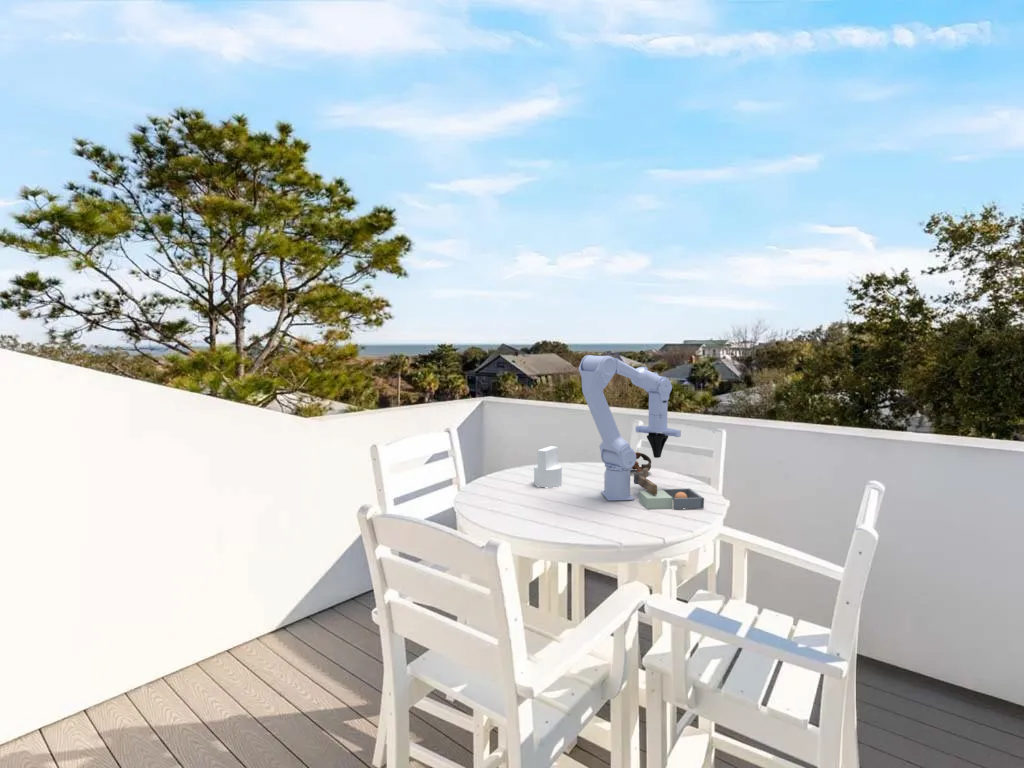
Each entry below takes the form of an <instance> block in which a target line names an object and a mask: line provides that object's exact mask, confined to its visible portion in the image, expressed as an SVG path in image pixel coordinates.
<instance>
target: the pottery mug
mask: <svg viewBox="0 0 1024 768" xmlns="http://www.w3.org/2000/svg"><path fill="white" fill-rule="evenodd" d="M635 453H636V462H635V464H634V466H633V467H632V469H631V470H635V469H637V470H635V472H634V473H639V472H640V471H641V470H643V469H644V468H648V472H650V471H651V469H652V459H651V458H650V457H649V456H648V455H647V454H645V453H642V452H635ZM640 458H642V460H643V461H646V462H648V463H647V464H646V463H645V464H644V463H642V464H641V466H640V465H639V463H640V462H638V461H637V460H639V459H640Z"/></svg>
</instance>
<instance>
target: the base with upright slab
mask: <svg viewBox="0 0 1024 768" xmlns="http://www.w3.org/2000/svg"><path fill="white" fill-rule="evenodd" d="M562 468H563V467H562V465H560V464H559V446H554V445H549V446H547V447H543V448H540V449H538V450H537V464H536V465H534V466H533V476H534V477H533V485H534V484H535V485H536V486H539V487H538V488H540V487H548V488H547V489H554V488H553V487H557V488H560V487H562V484H563V479H562V478H563V477H562V476H563V474H562V472H563V471H562V470H563V469H562ZM535 485H534V486H535ZM536 486H535V487H536ZM559 486H560V487H559Z"/></svg>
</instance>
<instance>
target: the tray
mask: <svg viewBox="0 0 1024 768" xmlns="http://www.w3.org/2000/svg"><path fill="white" fill-rule="evenodd" d="M661 490H664V491H665V492H666V493H667V494H669V495H670V496H671V497H672V498H673V508H674V509H676V510H684V509H683V508H704V509H705V498H704V496H703V497H702V495H700V494H698V493H697V492H696V491H694V490H692V489H691V487H690V488H662V489H661ZM678 492H684V493H685V494H686V495H687V497H688V498H675V495H676V494H677V493H678ZM673 508H672V509H673ZM674 509H673V510H674Z"/></svg>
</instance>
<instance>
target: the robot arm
mask: <svg viewBox="0 0 1024 768" xmlns="http://www.w3.org/2000/svg"><path fill="white" fill-rule="evenodd" d="M648 369H649V368H648V367H646V366H640V367H637V368H635V367H633V366H631V365H629V364H627V363H625V362H624V361H622V360H621V359H619V358H617V357H613V356H611V355H592V354H587V355H585V356H584V357H582V358H581V360H580V364H579V367H578V372H579V374H580V376H581V377H580V378H581V391H582V394H583V397H584V400H585V402H586V404H587V407H588V410H589V411H590V413H591V417H592V418H593V421H594V423H595V426H596V429H597V431H598V433H599V435H600V438H601V440H602V441H601V443H600V444H599V446H598V447H599V449H600V458H601V461H602V462H603V463H604V467H605V471H604V474H603V475H604V477H603V478H604V479H603V481H604V482H603V483H604V485H603V486H604V487H603V490H601V491H600V493H601V494H602V495H603V497H605V499H606V500H607V501H609V502H610V501H634V500H635V498H634V497H633V496H632V494H631V470H633V469H632V467H633V466H634V464H635V462H636V461H637V459H636V453H635V450H634V449H633V448H632V447H631V445H630V444H629V442H628V441H627V440H626V439H624V438H623V437H622V436H621V434H620V431H619V428H618V425H617V424H616V421H615V418H614V416H613V413H612V410H611V408H610V406H609V403H608V401H607V398H606V396H605V393H604V389H605V388H606V387H607V386H608V385H609V383H610V381H611V380H612V378H614V375H617V374H618V375H620V376H623V377H625V378H628V379H630V381H631V384H632V385H634V386H636V387H639V388H640V389H643V390H645V392H646V394H648V426H646V425H637V426H635V433H638V434H639V433H643V434H647V435H646V439H647V440H648V443H649V445H650V447H651V449H652V454H653V458H656V459H658V458H661V456H662V454H663V453H662V452H663V448H664V446H665V444H666V442H667V440H668V438H669V437H674V438H680V437H681V436H682V435H681V434H682V430H681V429H676V428H670V427H668V408H669V407H668V402H669V399H670V394H671V392H672V389H673V384H672V382H671V380H670V379H669V377H667V376H660V375H659V373H658V372H655V371H654V372H652V371H650V370H648Z"/></svg>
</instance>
